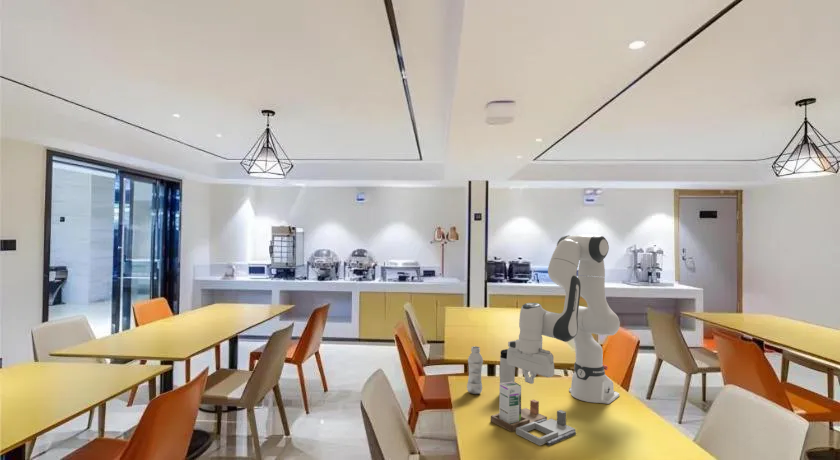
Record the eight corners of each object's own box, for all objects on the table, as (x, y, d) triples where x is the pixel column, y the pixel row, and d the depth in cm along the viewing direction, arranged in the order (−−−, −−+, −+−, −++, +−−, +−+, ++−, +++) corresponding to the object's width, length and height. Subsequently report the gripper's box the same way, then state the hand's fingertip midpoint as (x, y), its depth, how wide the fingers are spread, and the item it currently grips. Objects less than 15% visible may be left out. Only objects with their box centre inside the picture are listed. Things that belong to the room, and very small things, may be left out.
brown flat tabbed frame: (525, 410, 163) (525, 396, 163) (546, 418, 155) (547, 404, 155) (490, 421, 151) (490, 406, 152) (511, 431, 143) (511, 416, 144)
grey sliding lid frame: (551, 420, 153) (551, 406, 154) (575, 431, 145) (575, 415, 145) (515, 433, 142) (516, 418, 142) (539, 445, 134) (540, 429, 134)
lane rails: (519, 410, 163) (519, 407, 163) (575, 434, 143) (575, 431, 143) (492, 418, 154) (492, 416, 154) (549, 445, 134) (549, 442, 134)
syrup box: (508, 428, 146) (508, 387, 147) (498, 421, 152) (499, 381, 152) (521, 426, 149) (522, 385, 149) (511, 419, 154) (512, 380, 155)
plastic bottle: (466, 390, 184) (468, 345, 185) (482, 391, 184) (483, 346, 184) (466, 395, 178) (467, 348, 179) (482, 396, 177) (483, 349, 178)
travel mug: (515, 399, 175) (516, 351, 176) (499, 397, 176) (500, 350, 177) (514, 394, 181) (515, 348, 182) (499, 392, 182) (500, 347, 183)
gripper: (558, 351, 151) (557, 389, 150) (515, 340, 168) (514, 374, 167) (547, 352, 147) (546, 392, 147) (504, 341, 164) (503, 376, 163)
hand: (529, 382), depth 157 cm, fingers closed
